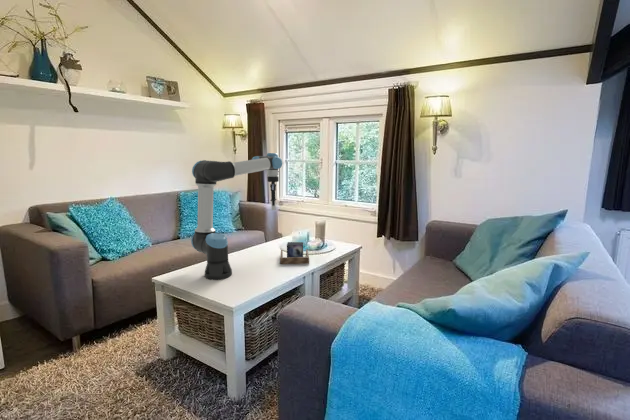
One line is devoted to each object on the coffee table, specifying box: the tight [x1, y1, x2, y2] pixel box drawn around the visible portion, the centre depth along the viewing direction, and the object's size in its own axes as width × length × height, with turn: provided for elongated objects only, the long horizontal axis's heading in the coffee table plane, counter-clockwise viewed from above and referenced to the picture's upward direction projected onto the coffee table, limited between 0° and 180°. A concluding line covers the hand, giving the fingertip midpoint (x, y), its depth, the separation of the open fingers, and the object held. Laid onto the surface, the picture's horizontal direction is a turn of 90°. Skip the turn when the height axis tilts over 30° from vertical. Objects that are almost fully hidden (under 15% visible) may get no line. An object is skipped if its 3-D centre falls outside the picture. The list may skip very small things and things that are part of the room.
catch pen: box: [279, 248, 310, 265], centre depth 222 cm, size 18×18×4 cm
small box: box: [286, 241, 304, 257], centre depth 224 cm, size 11×6×10 cm, turn 89°
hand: (273, 209), depth 236 cm, fingers closed
